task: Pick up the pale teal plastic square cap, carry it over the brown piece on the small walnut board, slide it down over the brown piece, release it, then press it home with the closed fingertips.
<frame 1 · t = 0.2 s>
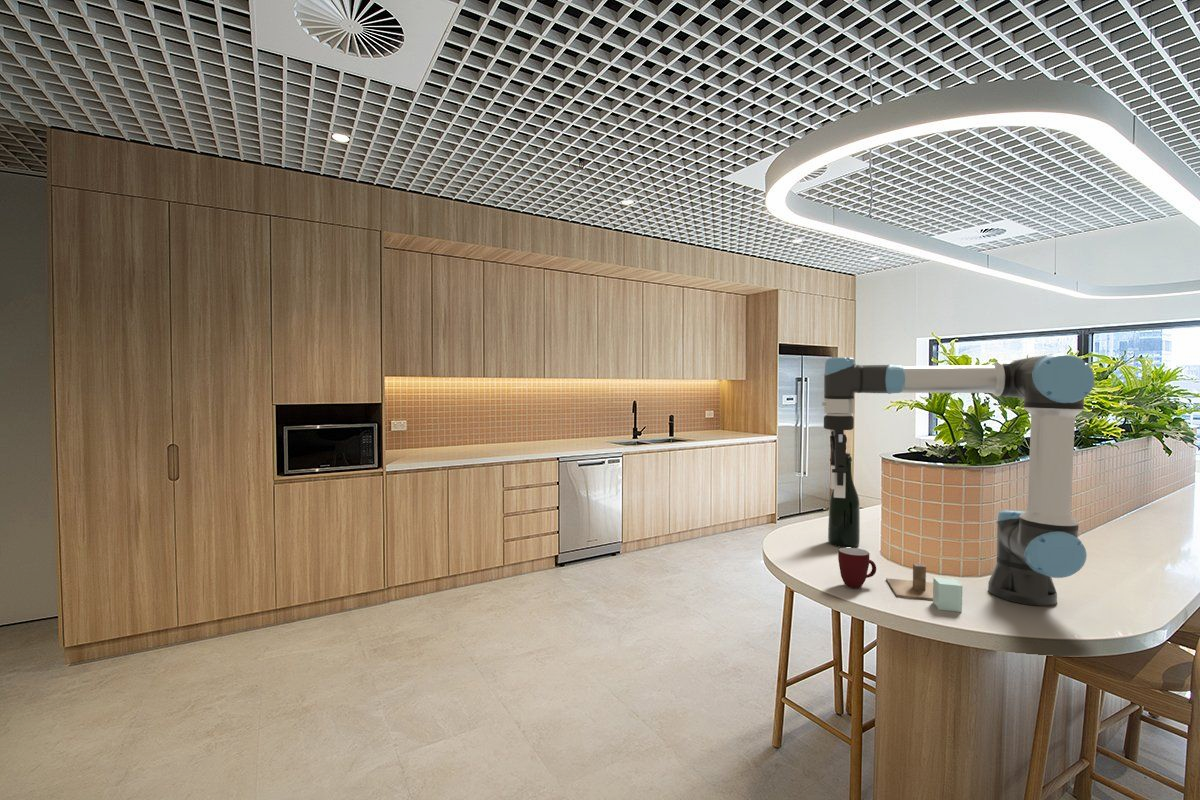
hand: (837, 493, 157), 28 cm above the counter, fingers open, 13 cm apart
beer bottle: (843, 544, 208), on the counter
mug: (856, 586, 164), on the counter
cap: (947, 606, 149), on the counter
brown piece: (918, 590, 161), on the counter
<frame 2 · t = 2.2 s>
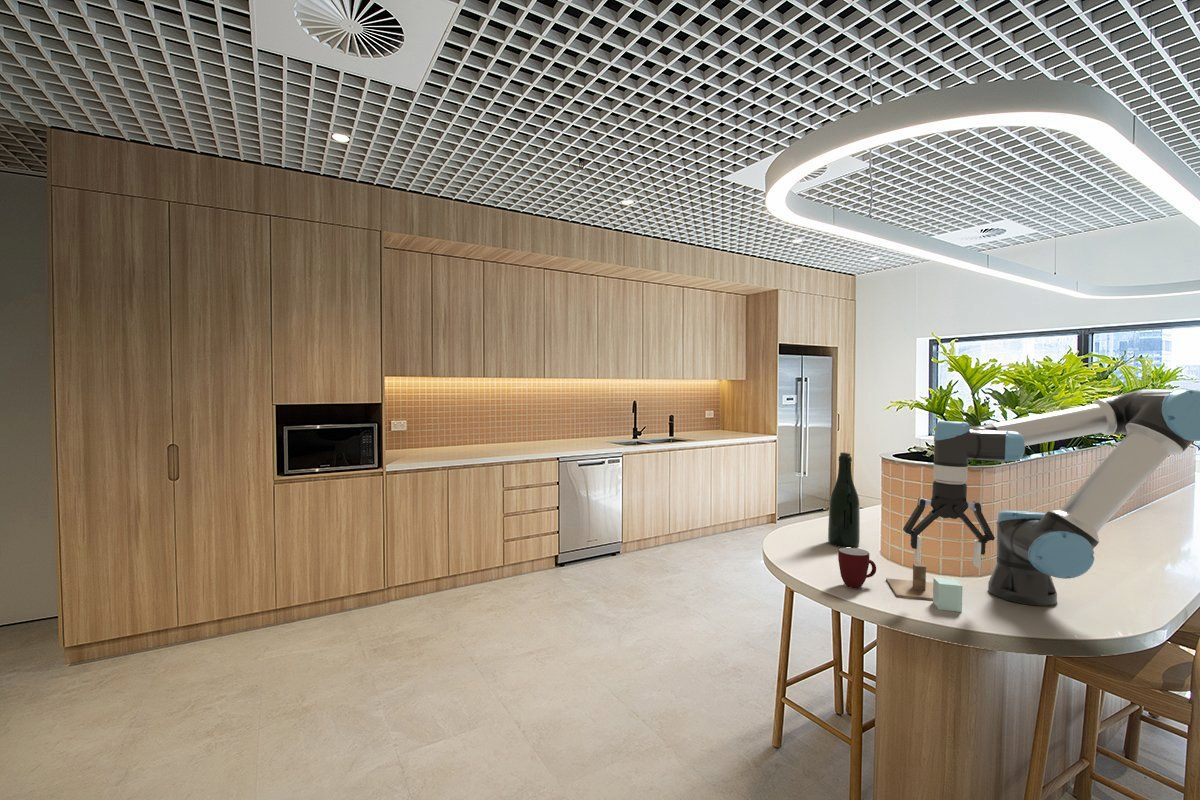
hand: (946, 564, 149), 11 cm above the counter, fingers open, 13 cm apart
nothing on the counter moved.
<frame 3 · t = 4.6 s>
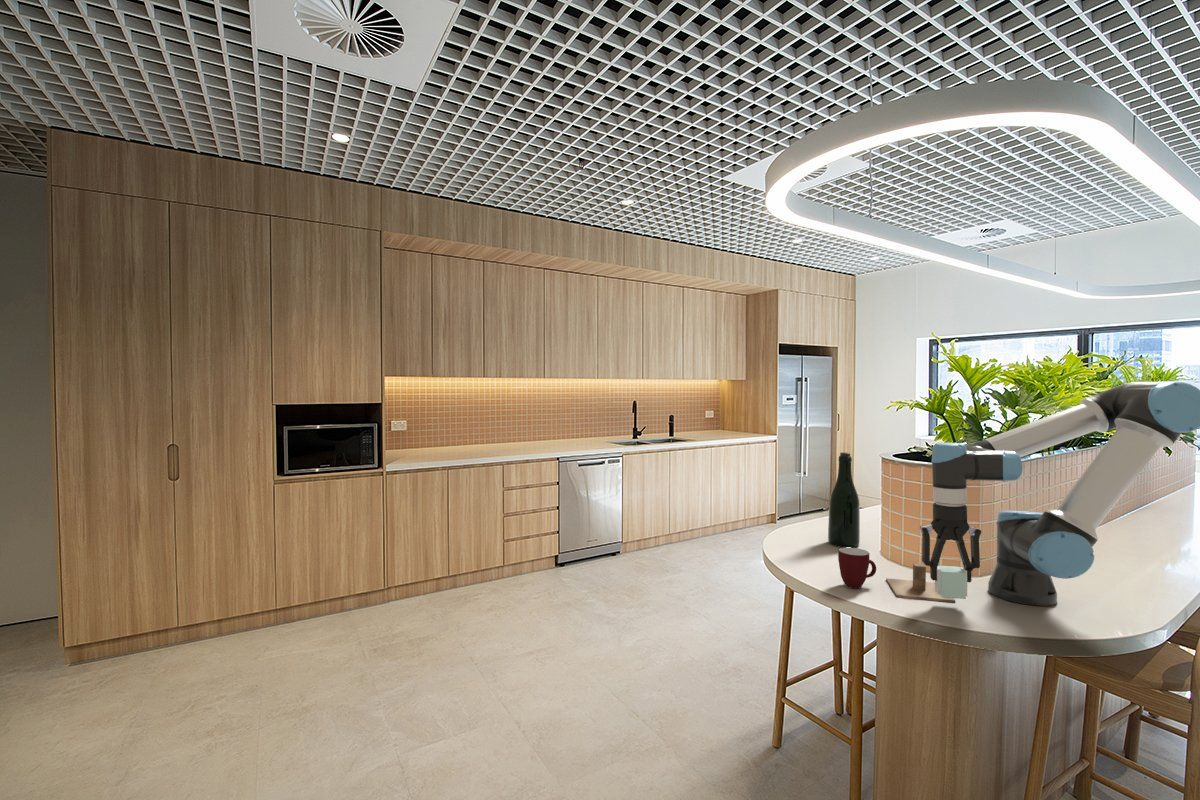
hand: (950, 593, 149), 4 cm above the counter, fingers closed on cap, 5 cm apart
cap: (950, 594, 149), point 3 cm above the counter, touching gripper
everything else where it was.
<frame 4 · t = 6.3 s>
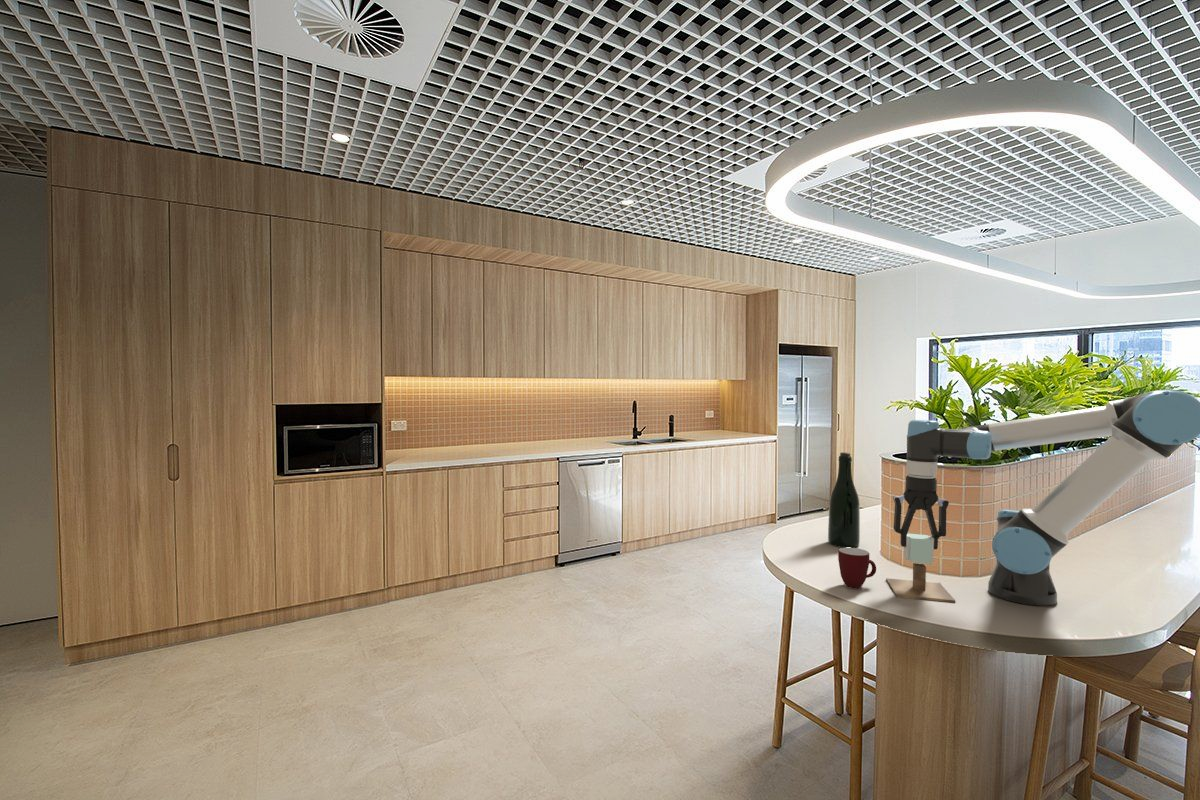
hand: (918, 559, 161), 9 cm above the counter, fingers closed on cap, 5 cm apart
cap: (918, 560, 161), point 8 cm above the counter, touching gripper
everything else where it was.
when the fingers open (2 cm above the counter, at t = 7.9 s): cap stays where it is, resting on brown piece.
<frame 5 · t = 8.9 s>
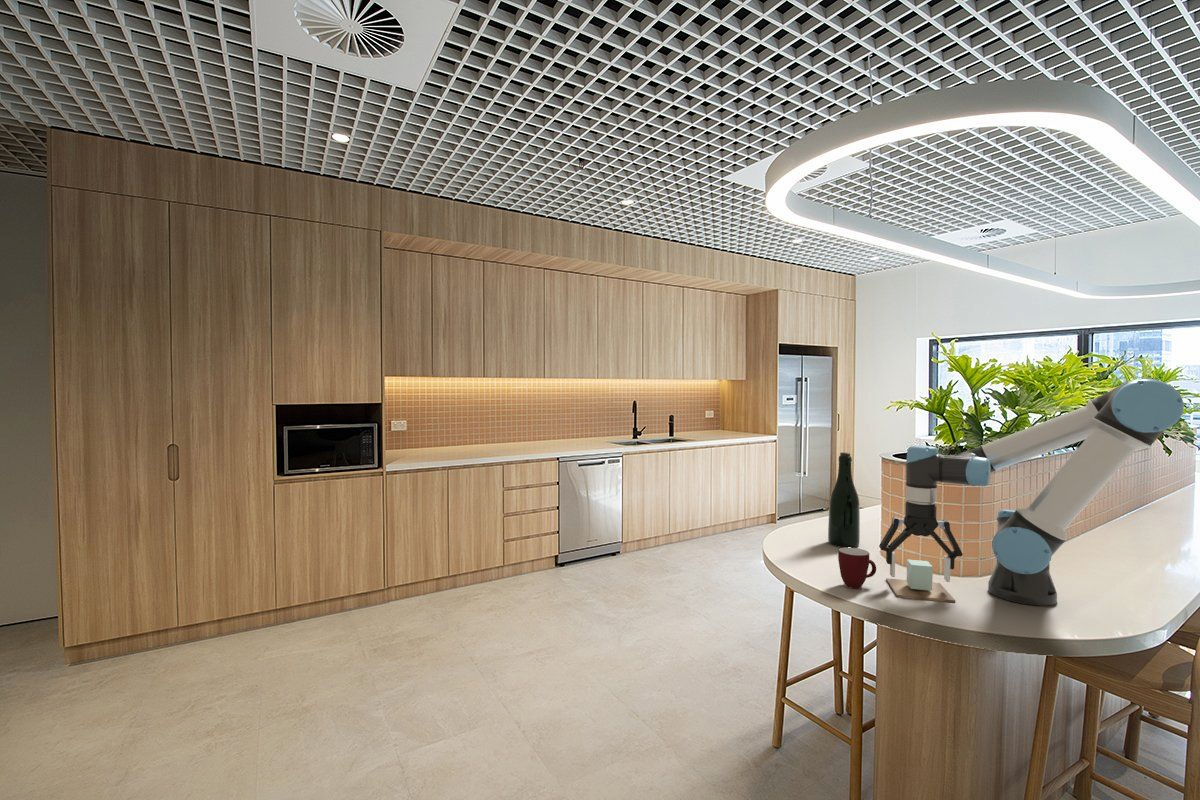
hand: (919, 578, 161), 4 cm above the counter, fingers open, 13 cm apart
cap: (919, 586, 161), point 1 cm above the counter, touching brown piece
everything else where it was.
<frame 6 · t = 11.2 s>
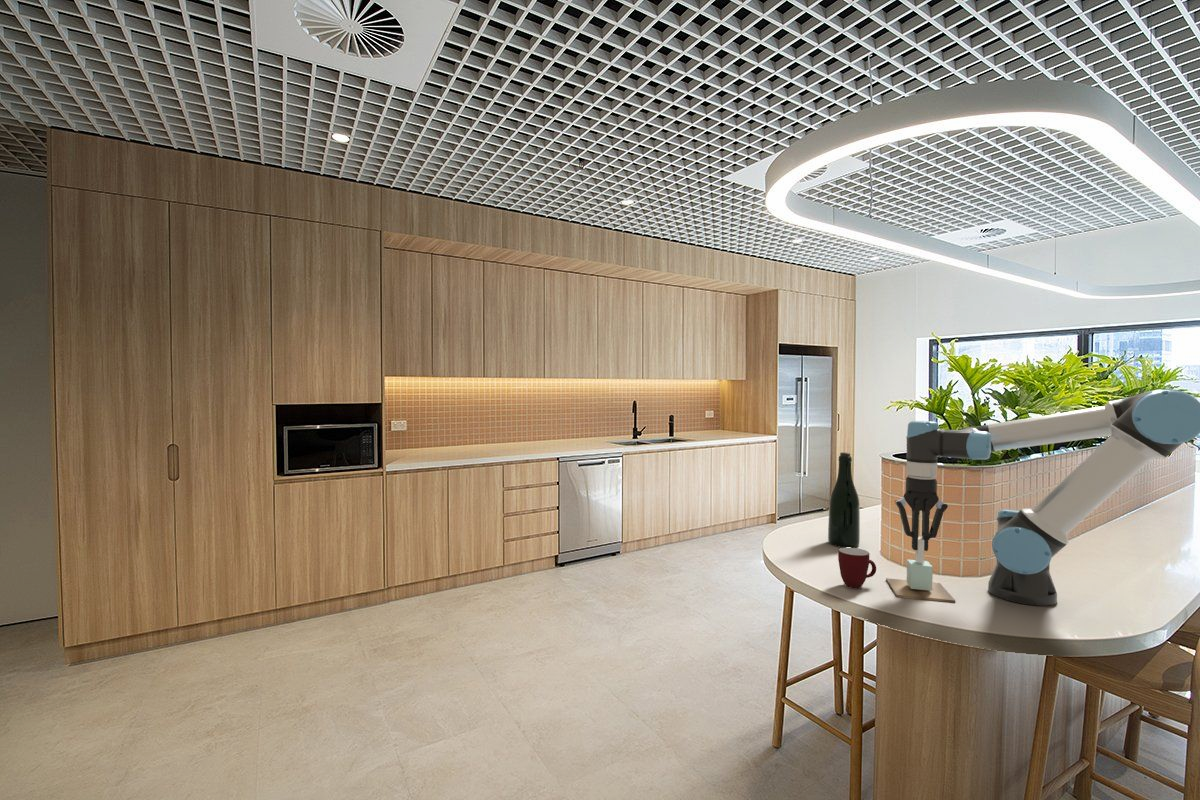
hand: (919, 561, 161), 8 cm above the counter, fingers closed
nothing on the counter moved.
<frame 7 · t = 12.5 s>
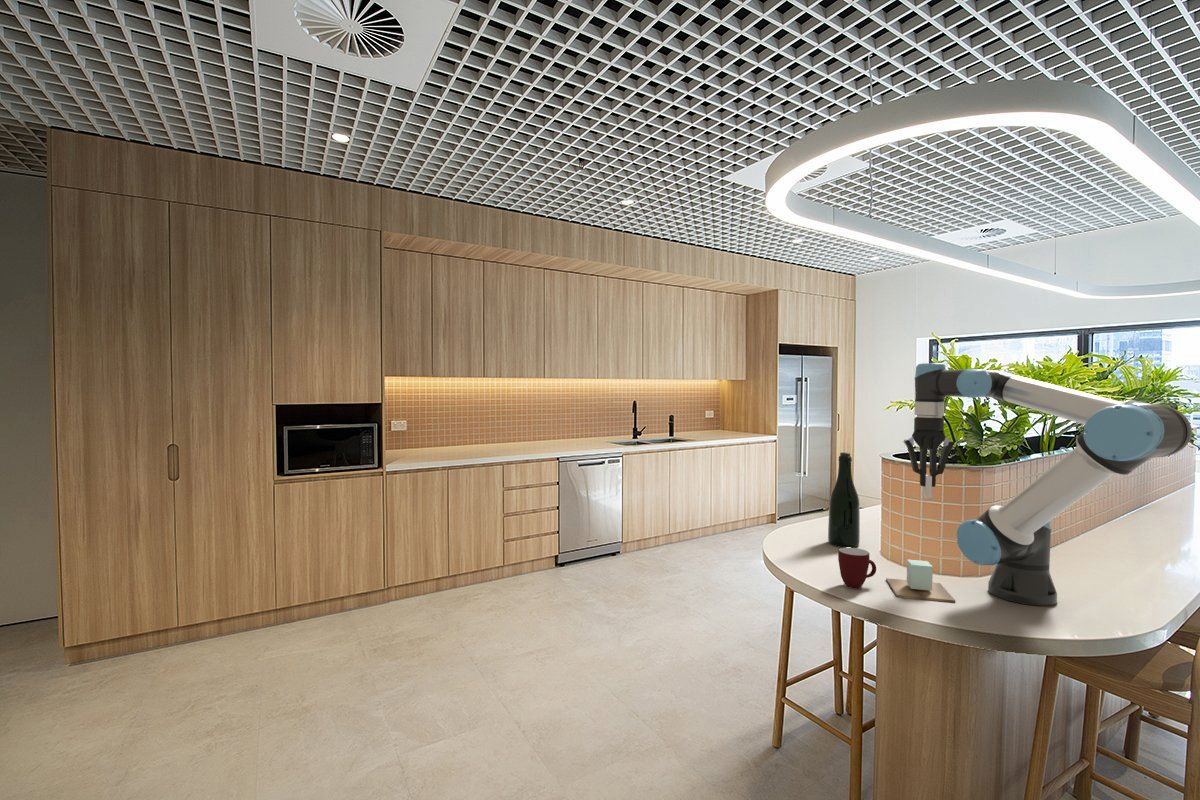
hand: (927, 497, 169), 24 cm above the counter, fingers closed
nothing on the counter moved.
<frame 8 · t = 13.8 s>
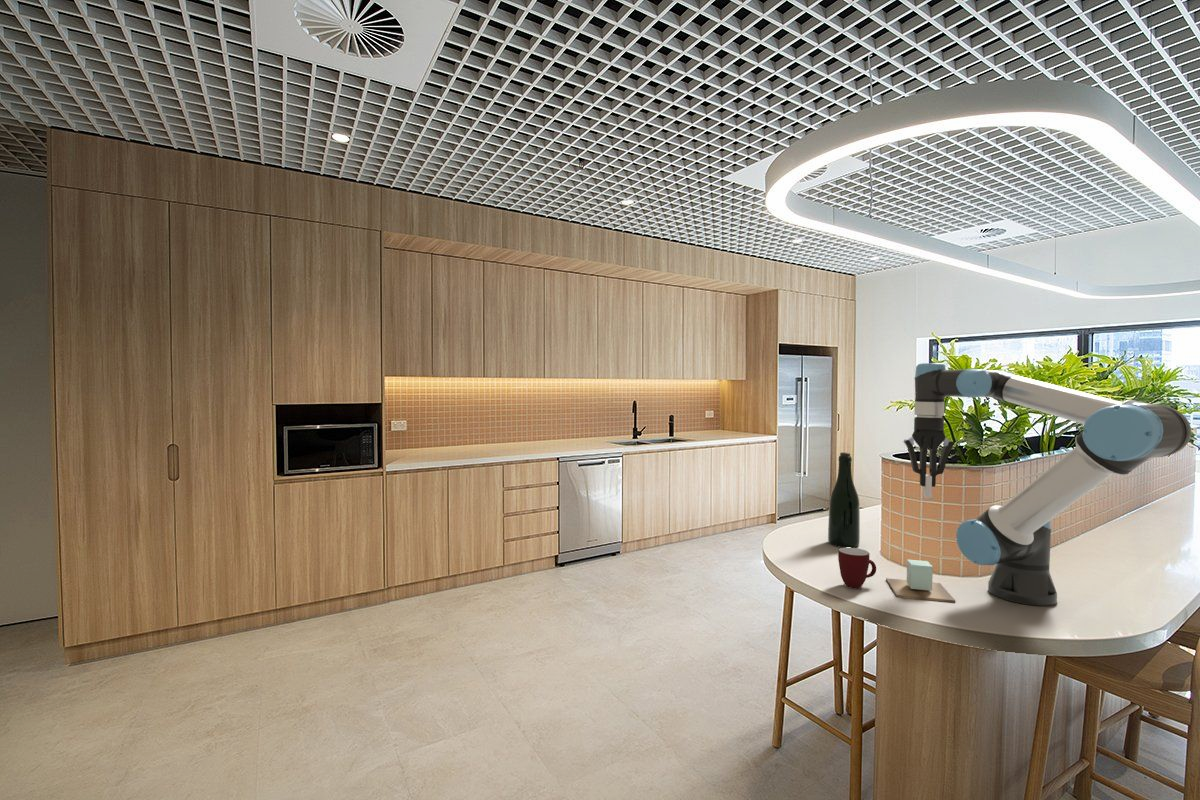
hand: (927, 497, 169), 24 cm above the counter, fingers closed
nothing on the counter moved.
at the end: cap 0.0 cm from the brown piece (horizontally); cap point 1.2 cm above the counter; the gripper is holding nothing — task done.
